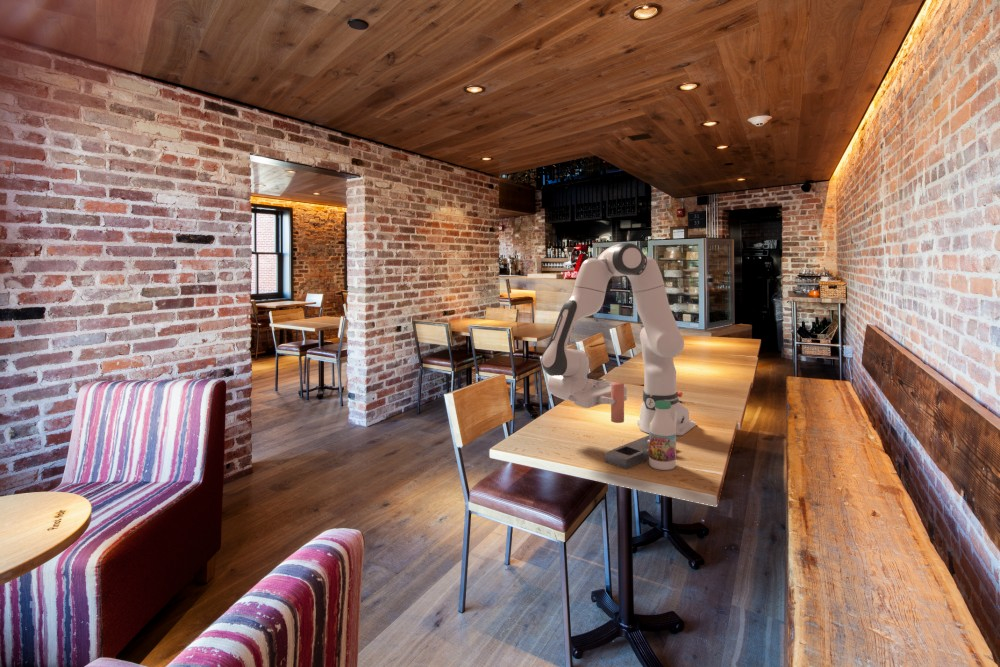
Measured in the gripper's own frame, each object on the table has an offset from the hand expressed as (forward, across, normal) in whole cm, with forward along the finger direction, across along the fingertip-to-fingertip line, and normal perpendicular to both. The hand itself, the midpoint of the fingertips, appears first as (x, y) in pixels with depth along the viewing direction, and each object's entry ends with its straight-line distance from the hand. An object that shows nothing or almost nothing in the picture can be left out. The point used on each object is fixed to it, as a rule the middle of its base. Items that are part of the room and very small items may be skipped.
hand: (619, 400), depth 154 cm
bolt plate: (+3, +6, +19) cm, 20 cm away
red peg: (-1, 0, +7) cm, 7 cm away
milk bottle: (+13, +4, +19) cm, 23 cm away
